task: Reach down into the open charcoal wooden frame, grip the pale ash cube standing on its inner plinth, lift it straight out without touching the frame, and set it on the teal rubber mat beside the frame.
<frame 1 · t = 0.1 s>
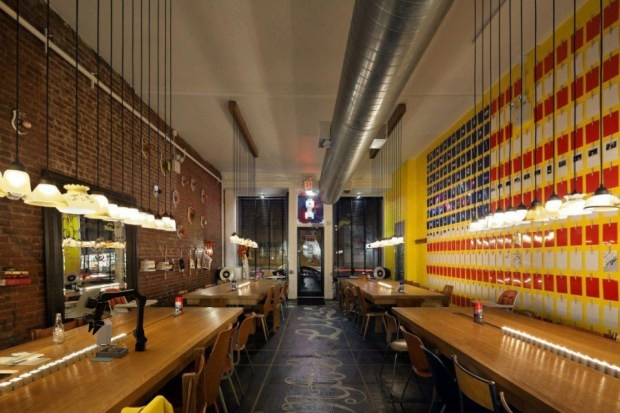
hand: (90, 333, 261), 15 cm above the table, tool pointing down, fingers open, 9 cm apart
ash cube: (112, 350, 268), point 3 cm above the table, touching housing
housing: (112, 354, 268), on the table
teal mat: (102, 359, 255), on the table
milk carton: (103, 344, 292), on the table
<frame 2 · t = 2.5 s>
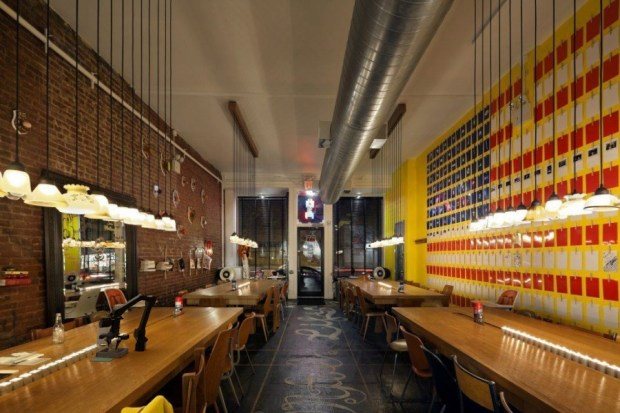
hand: (112, 349, 268), 4 cm above the table, tool pointing down, fingers closed on ash cube, 4 cm apart
ash cube: (112, 350, 268), point 3 cm above the table, touching gripper, housing
everything else where it was.
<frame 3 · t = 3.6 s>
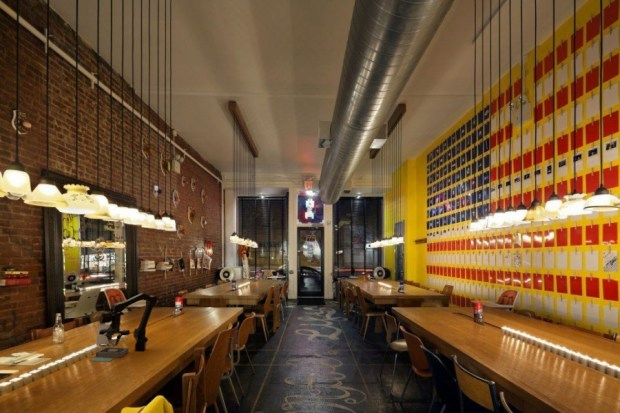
hand: (113, 344, 268), 7 cm above the table, tool pointing down, fingers closed on ash cube, 4 cm apart
ash cube: (113, 345, 268), point 6 cm above the table, touching gripper
everything else where it was.
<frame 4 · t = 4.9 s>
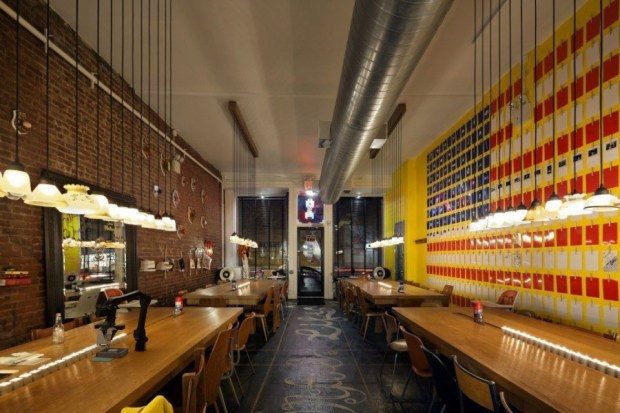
hand: (108, 339, 262), 12 cm above the table, tool pointing down, fingers closed on ash cube, 4 cm apart
ash cube: (108, 340, 262), point 11 cm above the table, touching gripper
everything else where it was.
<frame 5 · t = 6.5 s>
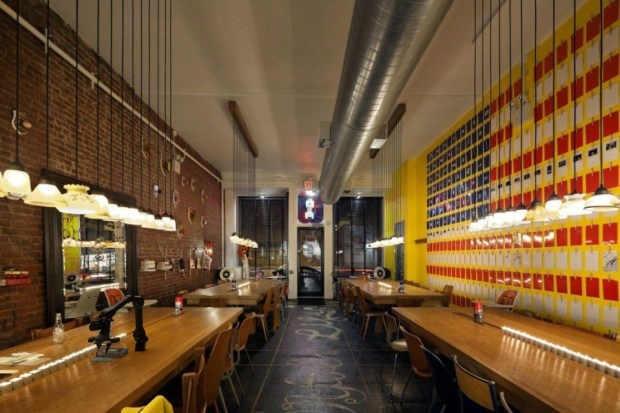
hand: (102, 353, 255), 4 cm above the table, tool pointing down, fingers closed on ash cube, 4 cm apart
ash cube: (102, 353, 255), point 4 cm above the table, touching gripper
everything else where it was.
when the fingers open (2 cm above the table, at t = 7.6 s): ash cube drops 1 cm, resting on teal mat.
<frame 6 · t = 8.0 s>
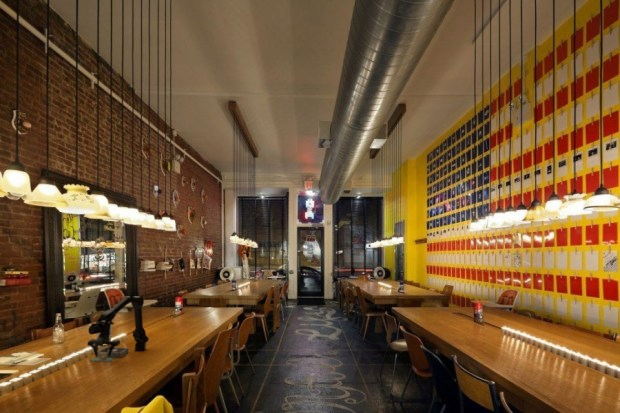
hand: (102, 356, 255), 2 cm above the table, tool pointing down, fingers open, 8 cm apart
ash cube: (102, 359, 255), resting on teal mat
everything else where it was.
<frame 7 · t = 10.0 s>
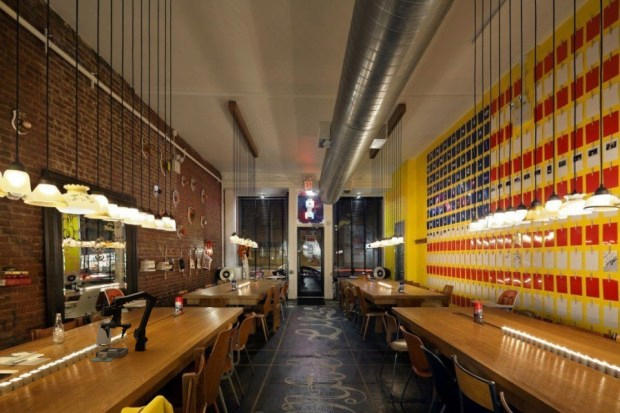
hand: (115, 338, 269), 11 cm above the table, tool pointing down, fingers open, 9 cm apart
nothing on the table moved.
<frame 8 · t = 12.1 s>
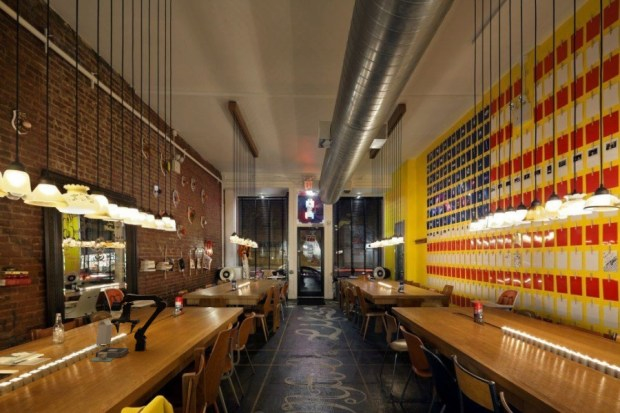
hand: (124, 333, 281), 12 cm above the table, tool pointing down, fingers open, 9 cm apart
nothing on the table moved.
at the end: ash cube inside the target area on the teal mat (0.0 cm from its centre), point 0.4 cm above the teal mat's base; ash cube tilted 0°; ash cube touching teal mat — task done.
